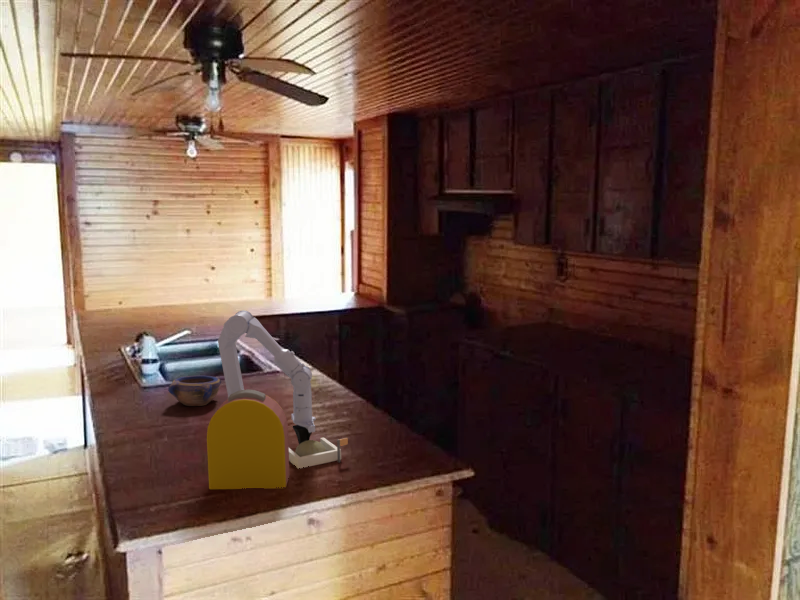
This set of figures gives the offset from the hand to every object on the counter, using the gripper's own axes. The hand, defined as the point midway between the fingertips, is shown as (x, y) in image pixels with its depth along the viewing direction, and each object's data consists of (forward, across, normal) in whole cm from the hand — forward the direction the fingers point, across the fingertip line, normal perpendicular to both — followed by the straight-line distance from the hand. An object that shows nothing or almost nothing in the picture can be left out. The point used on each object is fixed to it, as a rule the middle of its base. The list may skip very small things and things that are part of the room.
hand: (303, 447), depth 212 cm
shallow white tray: (+1, -7, -1) cm, 7 cm away
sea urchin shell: (+1, -6, 0) cm, 6 cm away
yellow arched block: (+1, -14, +22) cm, 26 cm away
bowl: (+1, +68, +16) cm, 70 cm away
